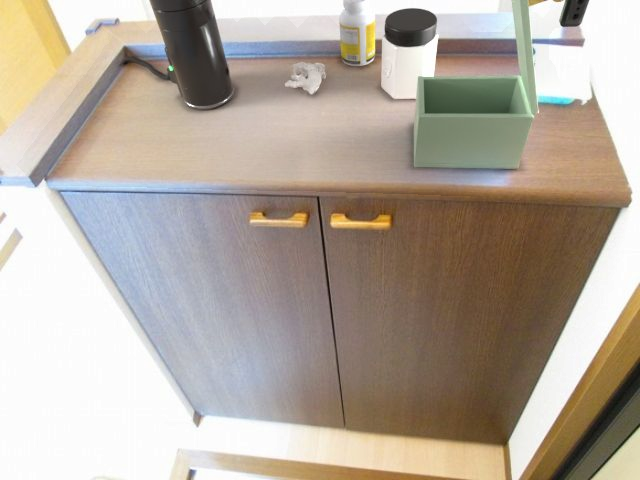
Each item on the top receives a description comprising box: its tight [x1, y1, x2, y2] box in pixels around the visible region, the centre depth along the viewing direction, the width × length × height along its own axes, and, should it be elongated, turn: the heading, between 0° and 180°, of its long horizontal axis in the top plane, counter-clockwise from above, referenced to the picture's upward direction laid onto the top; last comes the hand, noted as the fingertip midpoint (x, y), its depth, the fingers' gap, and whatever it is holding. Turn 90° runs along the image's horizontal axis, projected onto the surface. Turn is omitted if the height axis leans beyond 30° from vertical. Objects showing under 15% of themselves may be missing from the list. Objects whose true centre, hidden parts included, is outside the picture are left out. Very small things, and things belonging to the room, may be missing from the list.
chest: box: [413, 74, 535, 170], centre depth 67 cm, size 15×10×9 cm
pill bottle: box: [338, 0, 376, 67], centre depth 85 cm, size 6×6×12 cm
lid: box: [511, 0, 564, 115], centre depth 56 cm, size 15×10×5 cm
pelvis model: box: [284, 61, 327, 96], centre depth 84 cm, size 8×4×7 cm
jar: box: [380, 7, 439, 100], centre depth 77 cm, size 9×8×12 cm
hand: (561, 9), depth 54 cm, fingers open, 7 cm apart
